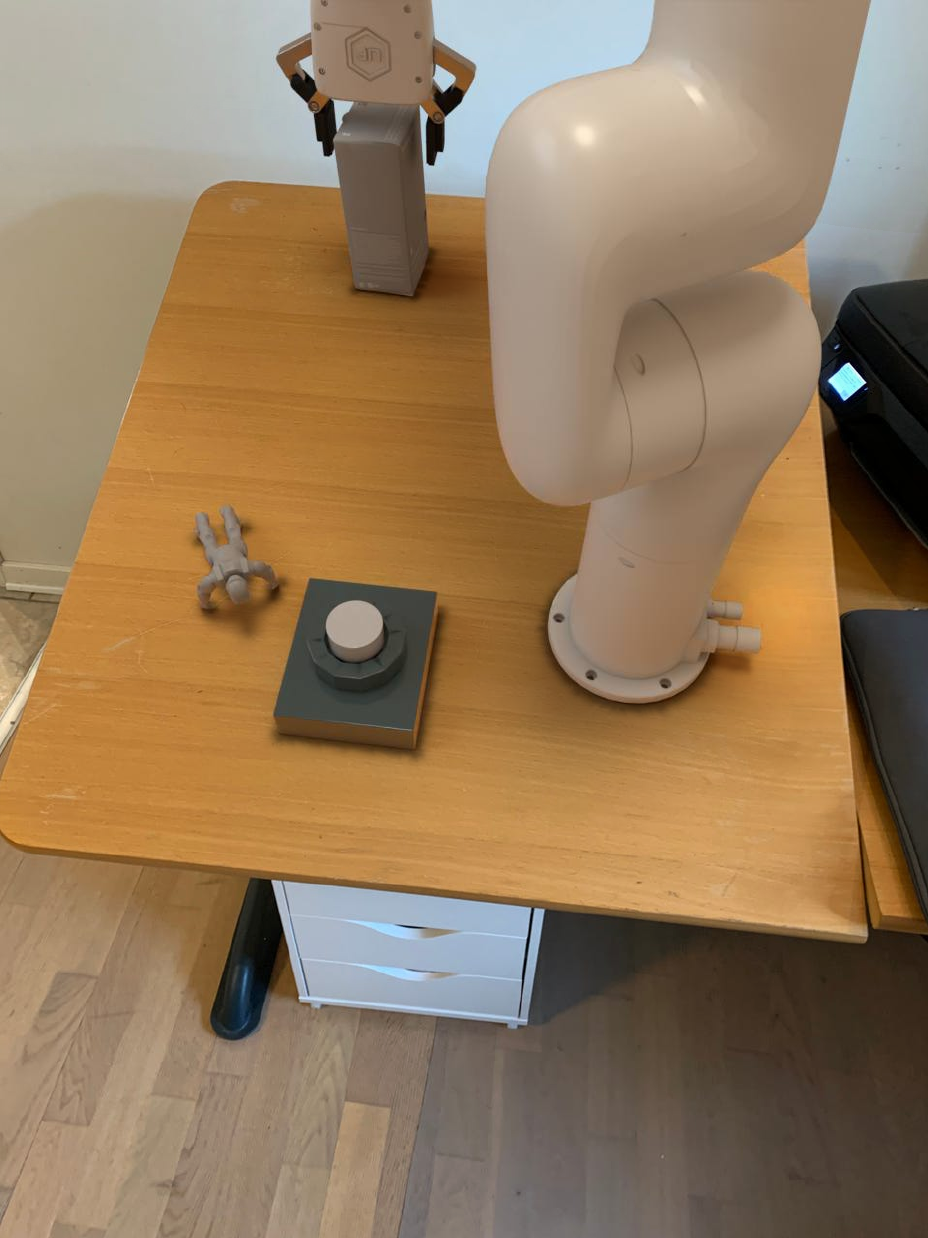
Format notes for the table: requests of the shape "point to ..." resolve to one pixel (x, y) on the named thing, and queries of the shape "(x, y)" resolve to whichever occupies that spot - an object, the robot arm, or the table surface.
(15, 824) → the table surface
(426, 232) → the cosmetic box
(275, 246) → the table surface
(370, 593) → the button base
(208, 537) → the soldier figurine
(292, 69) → the robot arm
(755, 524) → the table surface
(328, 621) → the white short cylinder
